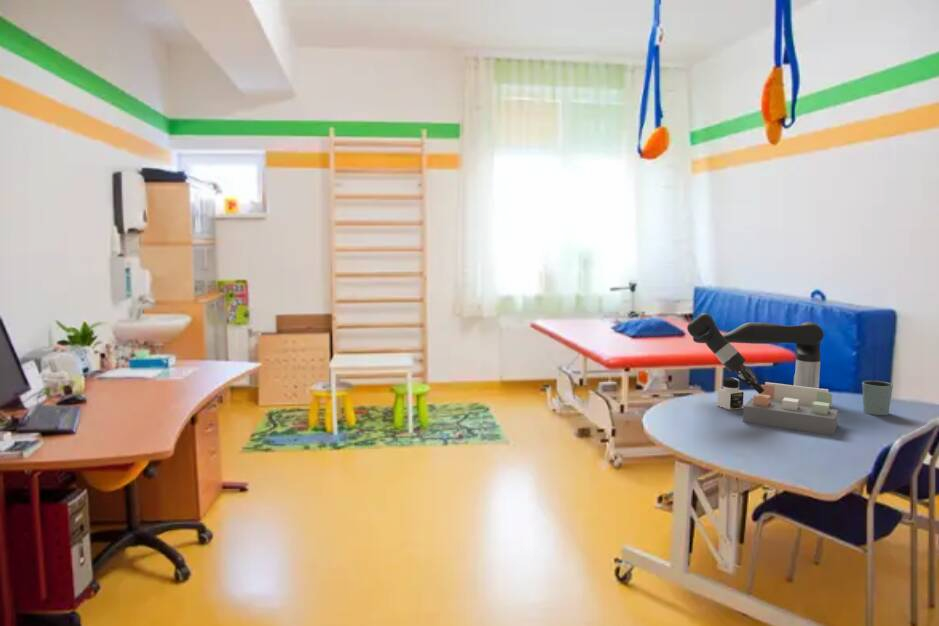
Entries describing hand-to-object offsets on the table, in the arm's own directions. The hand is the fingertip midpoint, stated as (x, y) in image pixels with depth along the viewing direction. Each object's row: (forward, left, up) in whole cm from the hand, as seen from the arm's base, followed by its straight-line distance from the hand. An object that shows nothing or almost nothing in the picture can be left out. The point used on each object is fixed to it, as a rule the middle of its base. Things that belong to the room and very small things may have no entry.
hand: (762, 392), depth 247 cm
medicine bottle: (-18, -3, -11) cm, 21 cm away
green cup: (-4, +50, -11) cm, 51 cm away
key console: (+4, +9, -11) cm, 15 cm away
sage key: (+13, +15, -6) cm, 21 cm away
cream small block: (+6, +8, -6) cm, 12 cm away
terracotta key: (0, 0, -6) cm, 6 cm away
